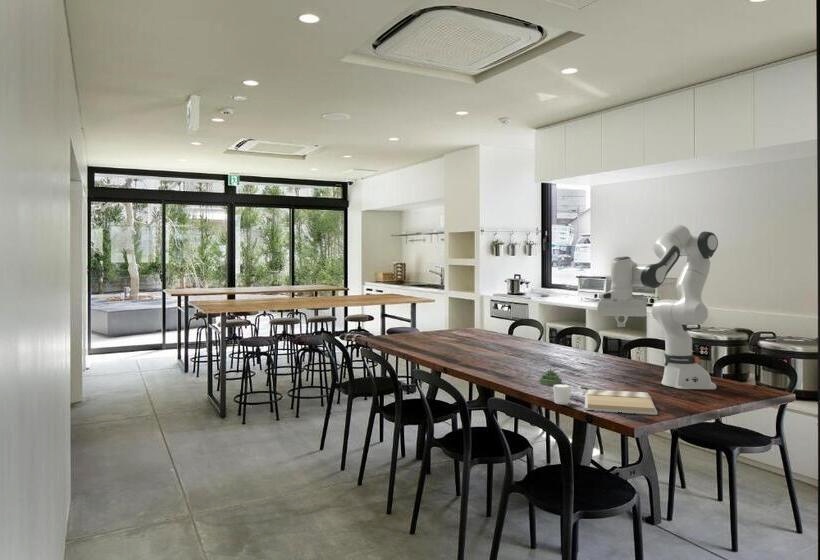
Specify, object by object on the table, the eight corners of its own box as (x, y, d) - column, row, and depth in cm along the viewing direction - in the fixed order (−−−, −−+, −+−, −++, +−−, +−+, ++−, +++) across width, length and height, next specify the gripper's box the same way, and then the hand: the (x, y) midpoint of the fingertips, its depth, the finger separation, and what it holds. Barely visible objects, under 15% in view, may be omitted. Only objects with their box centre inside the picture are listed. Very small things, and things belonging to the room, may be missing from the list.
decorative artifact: (565, 383, 271) (545, 380, 278) (565, 368, 271) (545, 366, 277) (555, 387, 264) (535, 384, 270) (555, 371, 263) (535, 369, 270)
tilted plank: (647, 396, 239) (647, 392, 239) (650, 401, 230) (650, 398, 230) (587, 392, 246) (587, 389, 246) (587, 398, 237) (587, 394, 237)
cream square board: (650, 398, 240) (650, 392, 240) (657, 414, 215) (657, 408, 215) (585, 394, 248) (585, 389, 248) (584, 410, 223) (584, 403, 223)
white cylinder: (563, 405, 230) (563, 388, 230) (549, 402, 236) (549, 385, 235) (574, 403, 234) (574, 385, 234) (560, 399, 240) (560, 383, 239)
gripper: (646, 294, 247) (646, 326, 248) (596, 293, 253) (596, 325, 254) (648, 295, 241) (648, 328, 242) (596, 294, 247) (596, 326, 248)
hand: (621, 326), depth 248 cm, fingers closed
